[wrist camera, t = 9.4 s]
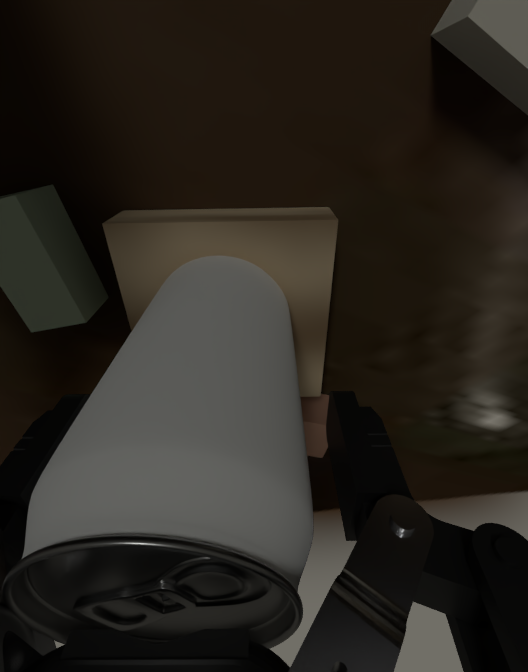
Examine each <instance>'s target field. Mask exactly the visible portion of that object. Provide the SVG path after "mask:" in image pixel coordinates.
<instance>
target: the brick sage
mask: <svg viewBox="0 0 528 672" xmlns="http://www.w3.org/2000/svg"><path fill="white" fill-rule="evenodd" d="M0 287H1V288H2V290H3V291H4V292H5V294H6V295H7V297H8V298H9V300H10V301H11V303H12V304H13V306H14V307H15V309H16V310H17V312H18V313H19V315H20V316H21V318H22V319H23V321H24V322H25V324H26V325H27V327H28V328H29V330H30V331H31V332H36V331H42V330H48V329H53V328H59V327H64V326H70V325H76V324H81V323H86V322H87V321H88V320H89V319H90V318H91V317H92V316H93V315H94V314H95V312H96V311H97V310H98V309H99V308H100V307H101V306H102V305H103V303H104V302H105V301H106V300H107V299H108V298H109V297H108V295H107V293H106V291H105V289H104V287H103V285H102V282H101V280H100V278H99V276H98V274H97V272H96V270H95V268H94V266H93V264H92V262H91V260H90V258H89V256H88V254H87V252H86V250H85V248H84V246H83V244H82V242H81V240H80V238H79V236H78V234H77V232H76V230H75V228H74V226H73V224H72V222H71V220H70V218H69V216H68V214H67V212H66V210H65V208H64V206H63V204H62V202H61V200H60V198H59V196H58V194H57V192H56V190H55V188H54V186H53V184H52V185H48V186H43V187H39V188H35V189H30V190H26V191H22V192H17V193H13V194H9V195H4V196H0Z"/></svg>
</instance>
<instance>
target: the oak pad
mask: <svg viewBox="0 0 528 672" xmlns="http://www.w3.org/2000/svg"><path fill="white" fill-rule="evenodd" d="M102 225H103V229H104V232H105V236H106V240H107V243H108V247H109V251H110V254H111V258H112V262H113V265H114V269H115V273H116V276H117V280H118V284H119V287H120V291H121V295H122V298H123V302H124V306H125V309H126V313H127V317H128V320H129V324H130V328H131V331H132V330H133V329H134V327H135V326H136V324H137V323H138V321H139V319H140V318H141V316H142V315H143V313H144V312H145V310H146V309H147V307H148V306H149V304H150V303H151V301H152V300H153V298H154V297H155V295H156V294H157V292H158V291H159V289H160V288H161V286H162V285H163V283H164V282H165V281H166V279H167V278H168V277H169V276H170V275H171V274H172V273H173V272H174V271H175V270H176V269H178V268H179V267H180V266H182V265H184V264H185V263H187V262H189V261H192V260H195V259H198V258H201V257H206V256H230V257H236V258H239V259H243V260H245V261H248V262H250V263H252V264H254V265H256V266H258V267H259V268H261V269H262V270H263V271H265V272H266V273H267V274H268V275H269V276H270V277H271V278H272V279H273V280H274V281H275V282H276V283H277V284H278V286H279V287H280V288H281V290H282V292H283V293H284V295H285V297H286V300H287V303H288V306H289V312H290V318H291V326H292V334H293V341H294V350H295V358H296V366H297V374H298V382H299V390H300V397H320V396H321V386H322V376H323V366H324V356H325V347H326V337H327V327H328V317H329V307H330V297H331V287H332V277H333V267H334V257H335V247H336V237H337V227H338V219H337V218H336V216H335V215H334V213H333V212H332V211H331V209H330V208H329V207H304V208H244V209H183V210H123V211H122V212H120V213H118V214H117V215H115V216H114V217H112V218H110V219H109V220H107V221H106V222H104V223H102Z"/></svg>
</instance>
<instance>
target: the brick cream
mask: <svg viewBox="0 0 528 672" xmlns="http://www.w3.org/2000/svg"><path fill="white" fill-rule="evenodd" d="M431 36H432V37H433V38H434V39H436V40H437V41H438V42H439V43H440V44H442V45H443V46H444V47H445V48H447V49H448V50H449V51H450V52H451V53H453V54H454V55H455V56H456V57H457V58H459V59H460V60H461V61H462V62H463V63H465V64H466V65H467V66H468V67H470V68H471V69H472V70H473V71H474V72H476V73H477V74H478V75H479V76H480V77H482V78H483V79H484V80H485V81H487V82H488V83H489V84H490V85H491V86H493V87H494V88H495V89H496V90H497V91H499V92H500V93H501V94H502V95H504V96H505V97H506V98H507V99H508V100H510V101H511V102H512V103H513V104H514V105H516V106H517V107H518V108H519V109H521V110H522V111H523V112H524V113H525V114H527V115H528V0H452V1H451V3H450V4H449V6H448V8H447V9H446V11H445V13H444V14H443V16H442V18H441V19H440V21H439V23H438V24H437V26H436V28H435V29H434V31H433V33H432V34H431Z"/></svg>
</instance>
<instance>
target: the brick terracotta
mask: <svg viewBox="0 0 528 672" xmlns="http://www.w3.org/2000/svg"><path fill="white" fill-rule="evenodd" d="M300 399H301V407H302V415H303V424H304V433H305V441H306V450H307V456H313V457H319V458H322V457H323V456H324V454H325V452H326V450H327V448H328V443H327V436H326V420H327V411H328V403H329V395H325V394H321V396H320V397H300Z"/></svg>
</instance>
